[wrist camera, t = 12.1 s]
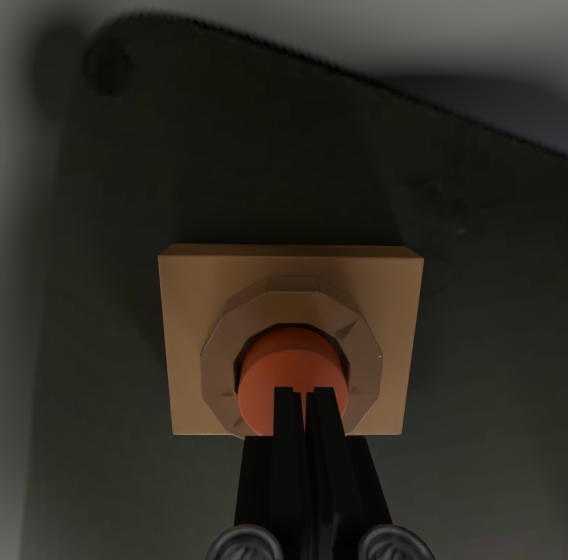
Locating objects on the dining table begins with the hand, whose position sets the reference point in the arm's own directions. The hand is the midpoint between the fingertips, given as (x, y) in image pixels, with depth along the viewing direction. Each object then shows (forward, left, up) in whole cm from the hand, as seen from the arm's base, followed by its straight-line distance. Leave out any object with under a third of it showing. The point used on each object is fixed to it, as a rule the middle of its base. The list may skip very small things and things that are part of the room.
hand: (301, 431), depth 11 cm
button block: (0, 0, -7) cm, 7 cm away
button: (0, 0, -3) cm, 3 cm away
